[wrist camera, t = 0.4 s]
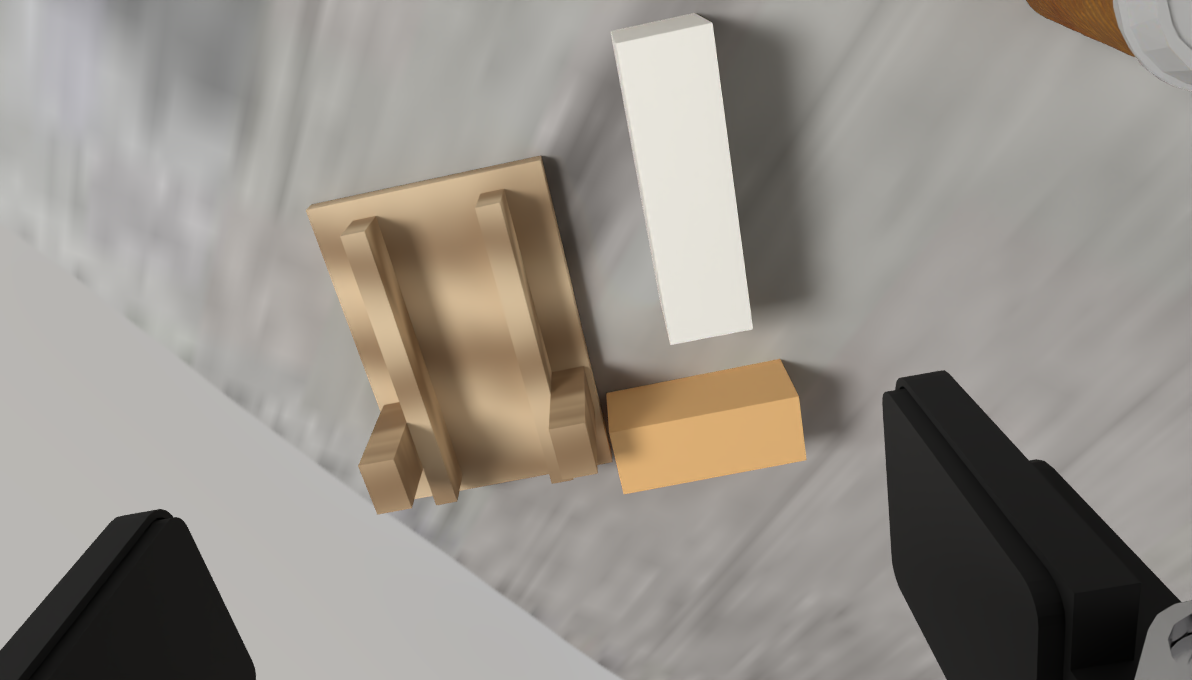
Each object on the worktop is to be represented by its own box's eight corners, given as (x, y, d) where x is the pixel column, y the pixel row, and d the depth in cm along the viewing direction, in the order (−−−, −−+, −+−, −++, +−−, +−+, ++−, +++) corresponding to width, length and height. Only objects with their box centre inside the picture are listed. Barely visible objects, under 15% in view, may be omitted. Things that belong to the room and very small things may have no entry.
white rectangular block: (610, 30, 39) (615, 43, 34) (693, 12, 39) (712, 22, 34) (659, 298, 45) (670, 344, 40) (732, 284, 45) (752, 329, 40)
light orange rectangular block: (606, 391, 47) (609, 433, 43) (779, 357, 47) (798, 396, 43) (619, 449, 49) (623, 494, 45) (786, 417, 48) (806, 460, 44)
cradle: (311, 204, 42) (265, 250, 36) (541, 155, 41) (535, 193, 35) (415, 489, 50) (393, 568, 43) (611, 452, 49) (617, 527, 43)
